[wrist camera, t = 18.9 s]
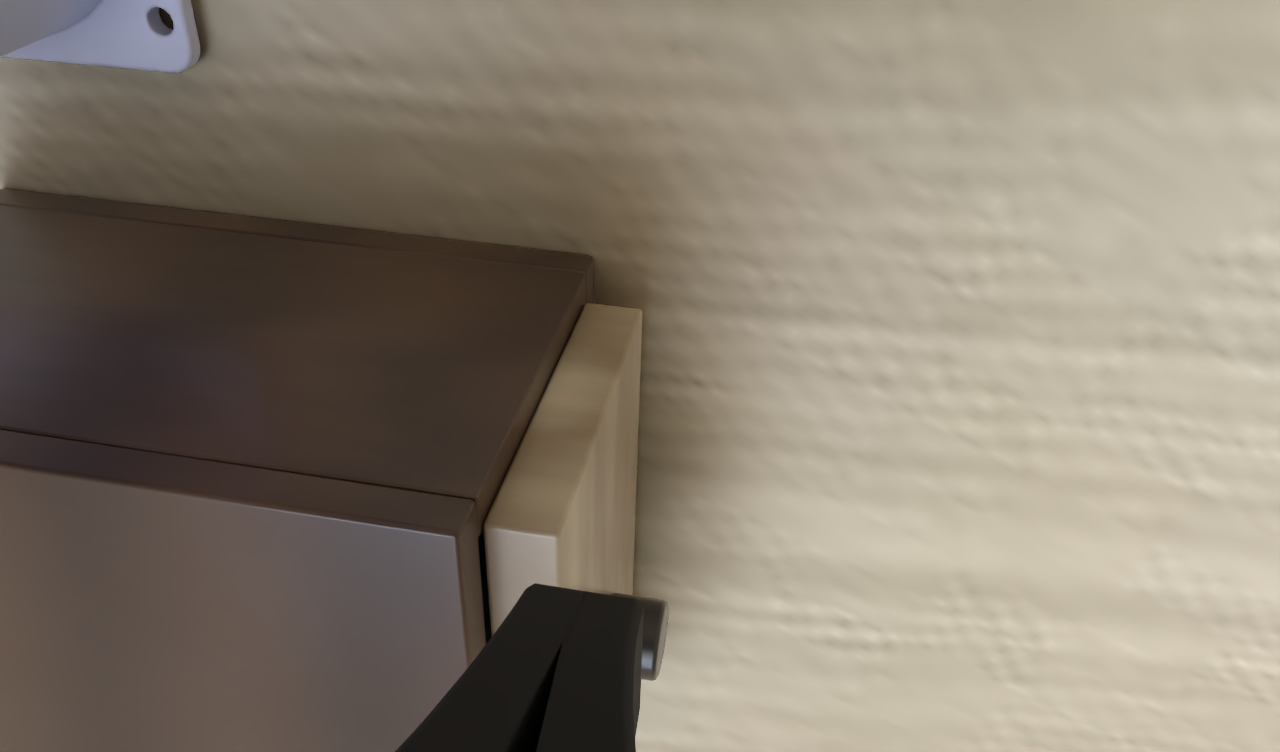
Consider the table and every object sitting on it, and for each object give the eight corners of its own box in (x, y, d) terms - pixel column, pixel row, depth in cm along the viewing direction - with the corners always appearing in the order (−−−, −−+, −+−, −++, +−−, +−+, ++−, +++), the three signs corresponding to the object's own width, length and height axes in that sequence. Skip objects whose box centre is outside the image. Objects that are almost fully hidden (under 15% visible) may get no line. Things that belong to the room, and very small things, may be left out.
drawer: (702, 315, 21) (640, 547, 15) (675, 693, 27) (624, 954, 22) (75, 240, 23) (-185, 423, 17) (188, 610, 29) (24, 831, 23)
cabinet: (594, 254, 22) (459, 534, 14) (592, 666, 29) (500, 989, 22) (-1, 186, 23) (-377, 406, 16) (136, 589, 30) (-87, 864, 23)
